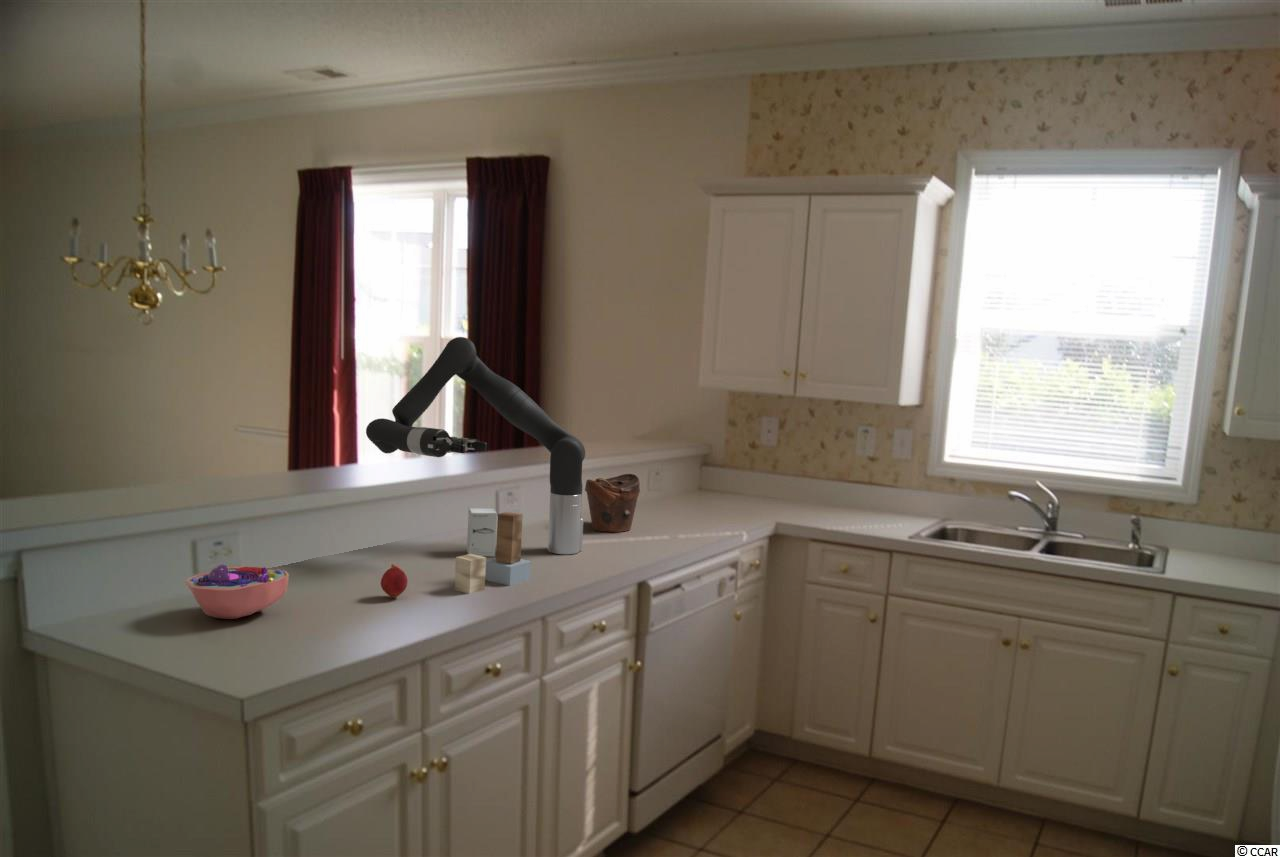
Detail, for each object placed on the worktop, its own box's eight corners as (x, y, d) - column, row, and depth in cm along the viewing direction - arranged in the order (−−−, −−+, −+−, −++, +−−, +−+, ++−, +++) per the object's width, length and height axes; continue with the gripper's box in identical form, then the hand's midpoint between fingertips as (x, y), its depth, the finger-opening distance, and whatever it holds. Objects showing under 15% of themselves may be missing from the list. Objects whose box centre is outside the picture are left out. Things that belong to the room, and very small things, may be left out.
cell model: (302, 617, 184) (303, 564, 183) (200, 635, 170) (200, 578, 169) (271, 598, 196) (272, 548, 195) (174, 613, 182) (174, 559, 181)
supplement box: (468, 557, 242) (470, 512, 241) (466, 551, 249) (468, 507, 248) (495, 557, 244) (497, 512, 243) (492, 550, 251) (494, 507, 250)
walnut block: (505, 558, 224) (507, 511, 223) (520, 560, 222) (522, 513, 222) (495, 561, 220) (497, 514, 219) (511, 563, 218) (513, 515, 218)
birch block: (469, 585, 214) (471, 553, 214) (484, 589, 212) (485, 557, 211) (454, 589, 210) (455, 557, 210) (469, 593, 208) (470, 560, 207)
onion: (397, 593, 205) (398, 559, 204) (412, 598, 201) (413, 564, 201) (375, 597, 200) (376, 563, 200) (390, 603, 197) (391, 568, 196)
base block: (506, 574, 227) (506, 555, 227) (530, 580, 223) (531, 561, 223) (485, 580, 220) (486, 561, 220) (509, 586, 216) (510, 567, 216)
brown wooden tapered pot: (574, 531, 284) (576, 476, 282) (595, 520, 303) (597, 469, 301) (626, 537, 279) (629, 481, 277) (644, 526, 298) (647, 474, 296)
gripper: (409, 429, 229) (457, 435, 221) (447, 426, 241) (493, 432, 233) (409, 457, 230) (456, 464, 222) (446, 453, 242) (492, 460, 234)
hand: (475, 447), depth 228 cm, fingers open, 8 cm apart
